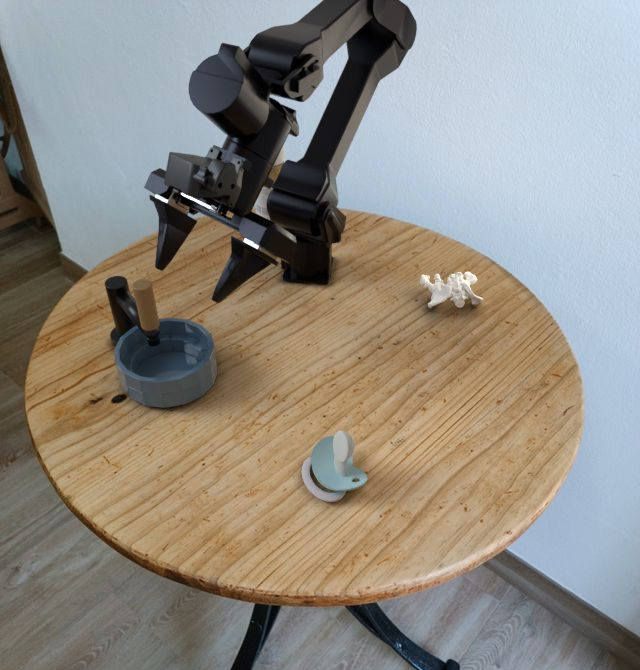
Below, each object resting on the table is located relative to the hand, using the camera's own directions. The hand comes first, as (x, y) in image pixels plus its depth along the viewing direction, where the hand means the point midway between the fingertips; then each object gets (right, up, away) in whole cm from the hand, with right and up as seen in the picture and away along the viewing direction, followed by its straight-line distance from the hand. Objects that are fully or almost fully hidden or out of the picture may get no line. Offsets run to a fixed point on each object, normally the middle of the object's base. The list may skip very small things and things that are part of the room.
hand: (186, 285), depth 77 cm
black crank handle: (-6, -7, +7) cm, 11 cm away
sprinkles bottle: (+8, +13, +28) cm, 32 cm away
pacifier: (+16, -21, -5) cm, 27 cm away
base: (-9, -5, +10) cm, 14 cm away
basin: (-3, -10, +5) cm, 12 cm away
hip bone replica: (+33, +1, +17) cm, 37 cm away
